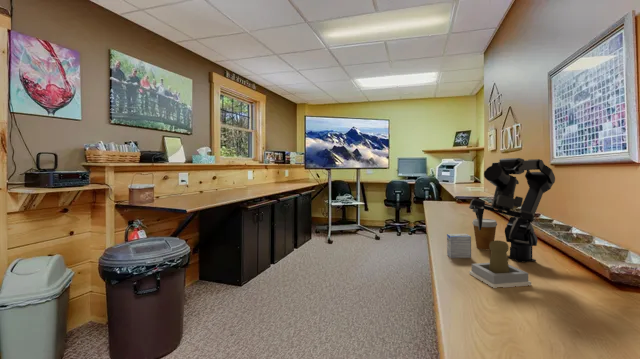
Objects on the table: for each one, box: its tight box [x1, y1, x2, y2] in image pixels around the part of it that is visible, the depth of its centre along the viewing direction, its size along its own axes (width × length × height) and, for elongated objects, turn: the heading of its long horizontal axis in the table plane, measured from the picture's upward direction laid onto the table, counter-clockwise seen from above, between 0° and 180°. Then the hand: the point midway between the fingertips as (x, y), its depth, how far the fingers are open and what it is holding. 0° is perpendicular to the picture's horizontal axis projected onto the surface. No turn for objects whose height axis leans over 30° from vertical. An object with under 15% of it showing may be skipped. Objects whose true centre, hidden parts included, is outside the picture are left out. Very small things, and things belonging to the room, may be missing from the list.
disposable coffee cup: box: [471, 218, 498, 251], centre depth 129 cm, size 10×10×12 cm
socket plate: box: [468, 262, 532, 289], centre depth 95 cm, size 12×12×4 cm
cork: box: [489, 240, 510, 274], centre depth 95 cm, size 6×6×11 cm
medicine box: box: [446, 233, 472, 259], centre depth 119 cm, size 8×4×9 cm, turn 84°
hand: (494, 234), depth 102 cm, fingers open, 9 cm apart
